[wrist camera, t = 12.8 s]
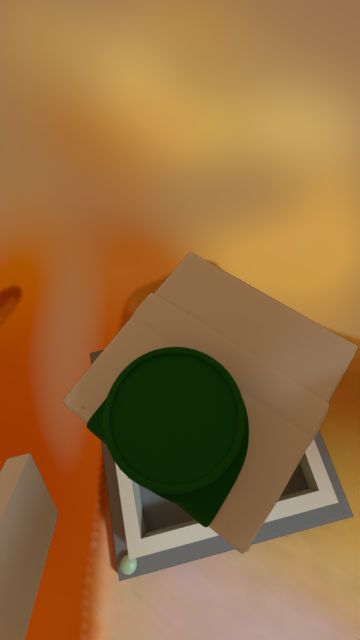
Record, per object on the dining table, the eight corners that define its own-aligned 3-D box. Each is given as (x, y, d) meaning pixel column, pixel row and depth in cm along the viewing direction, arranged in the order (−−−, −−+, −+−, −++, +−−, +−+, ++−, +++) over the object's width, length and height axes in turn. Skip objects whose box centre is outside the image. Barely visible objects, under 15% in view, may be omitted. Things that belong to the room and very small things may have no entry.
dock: (268, 313, 33) (275, 296, 30) (348, 514, 26) (368, 521, 22) (93, 356, 32) (81, 344, 29) (122, 577, 25) (110, 592, 22)
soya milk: (133, 442, 28) (5, 390, 10) (194, 358, 31) (185, 195, 12) (220, 513, 25) (269, 625, 7) (279, 415, 28) (422, 315, 10)
